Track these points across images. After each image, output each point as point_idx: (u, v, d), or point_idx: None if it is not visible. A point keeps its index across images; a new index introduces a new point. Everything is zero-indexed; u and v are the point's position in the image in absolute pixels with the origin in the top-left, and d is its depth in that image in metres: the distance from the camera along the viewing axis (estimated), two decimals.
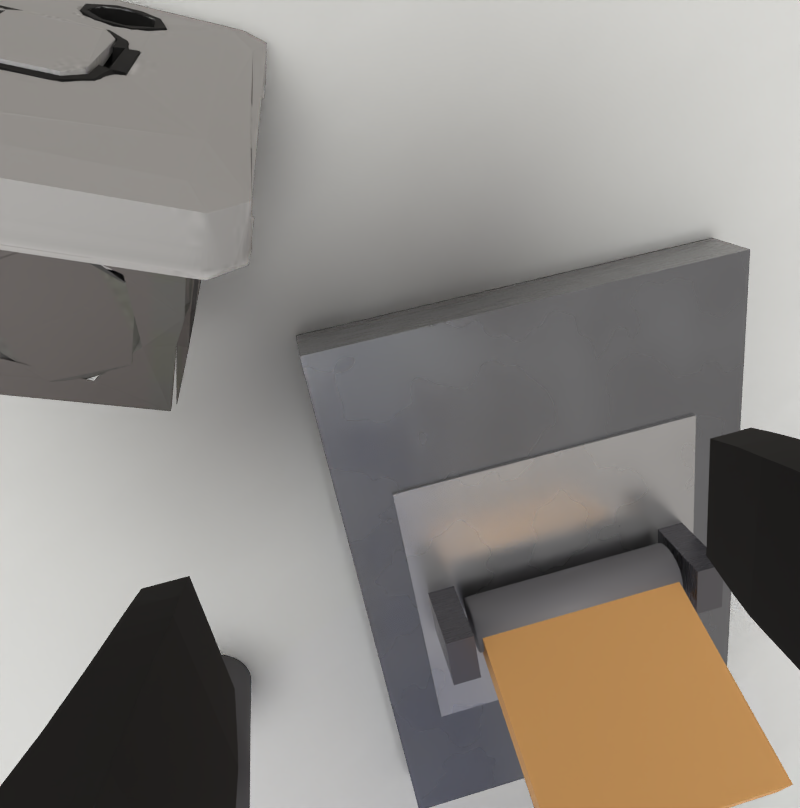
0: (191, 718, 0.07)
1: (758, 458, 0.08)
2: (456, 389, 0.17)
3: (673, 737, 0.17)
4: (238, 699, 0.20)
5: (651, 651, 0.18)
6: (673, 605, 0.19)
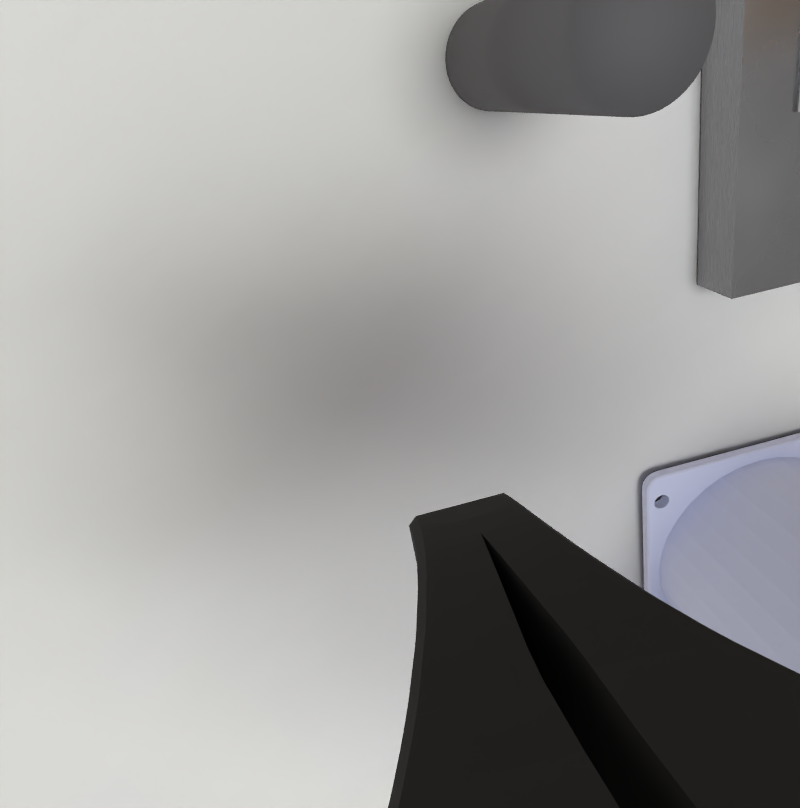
0: None
1: (481, 533, 0.08)
2: None
3: None
4: None
5: None
6: None
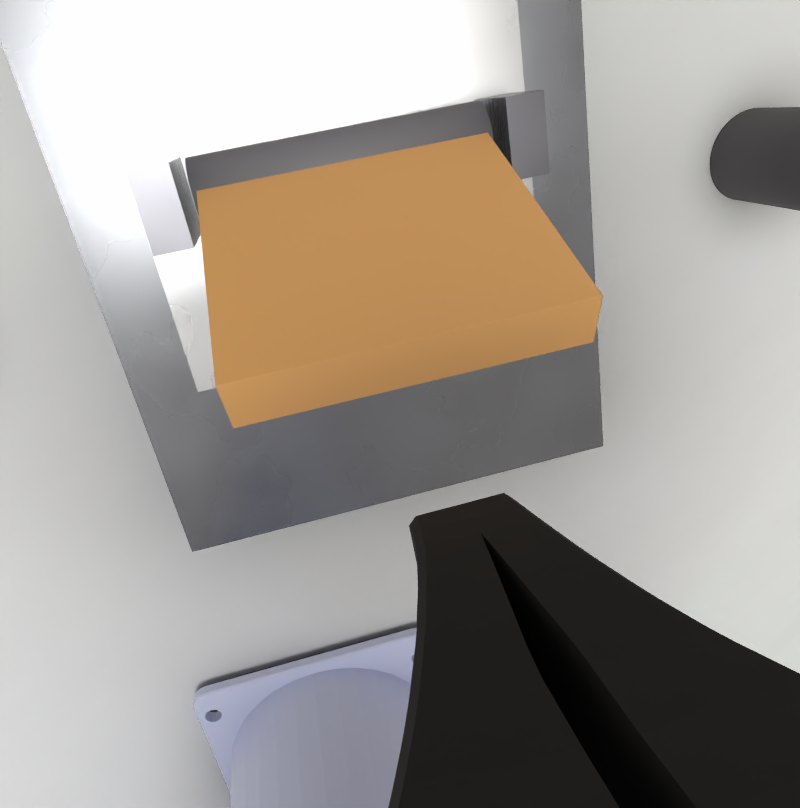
0: None
1: (482, 532, 0.08)
2: None
3: (434, 261, 0.11)
4: None
5: (429, 190, 0.13)
6: (473, 151, 0.13)
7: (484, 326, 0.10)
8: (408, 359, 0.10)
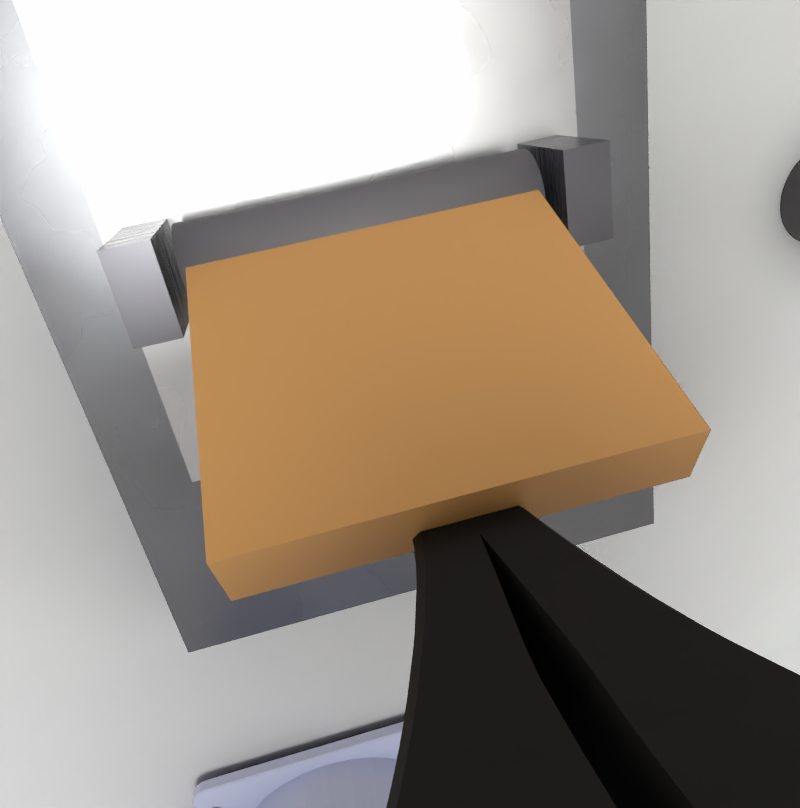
0: None
1: (480, 533, 0.08)
2: None
3: (486, 374, 0.09)
4: None
5: (472, 269, 0.10)
6: (523, 215, 0.11)
7: (556, 472, 0.08)
8: (458, 514, 0.08)
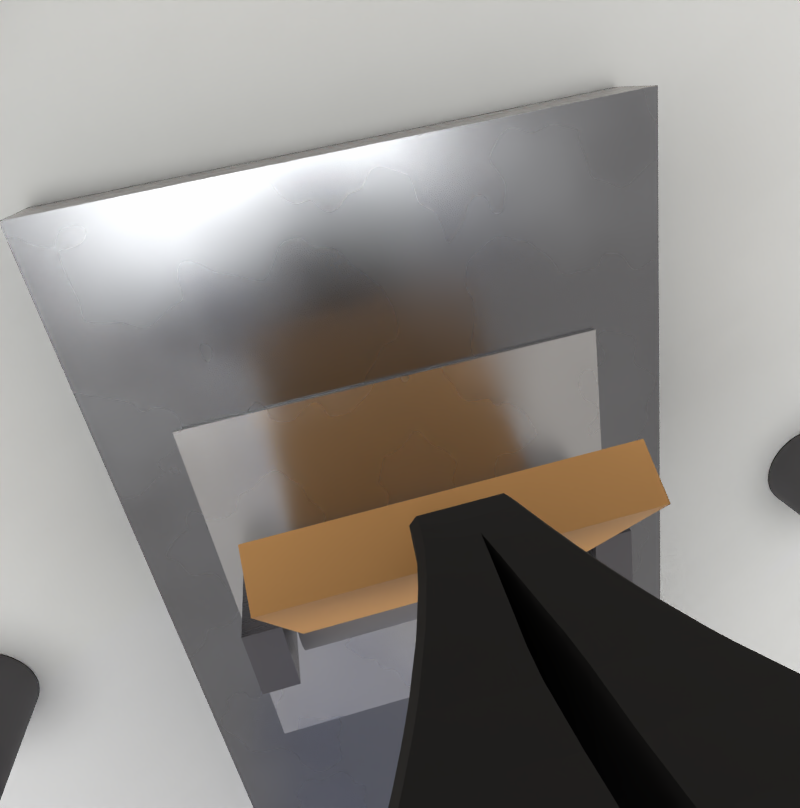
0: None
1: (481, 533, 0.08)
2: (246, 281, 0.12)
3: None
4: None
5: None
6: None
7: (520, 475, 0.10)
8: None
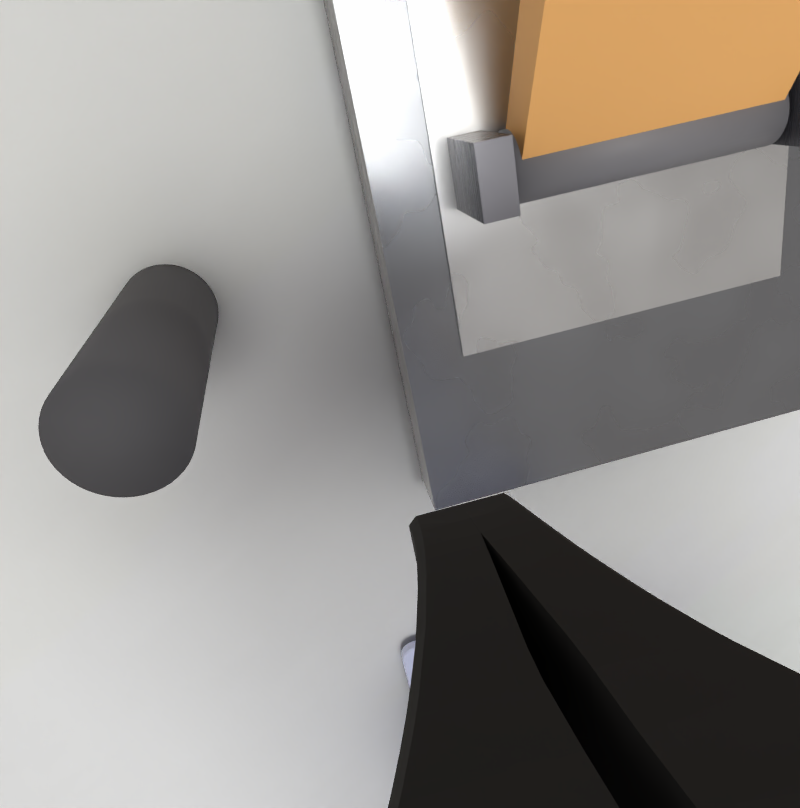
0: None
1: (482, 533, 0.08)
2: None
3: None
4: (197, 295, 0.16)
5: None
6: None
7: None
8: None
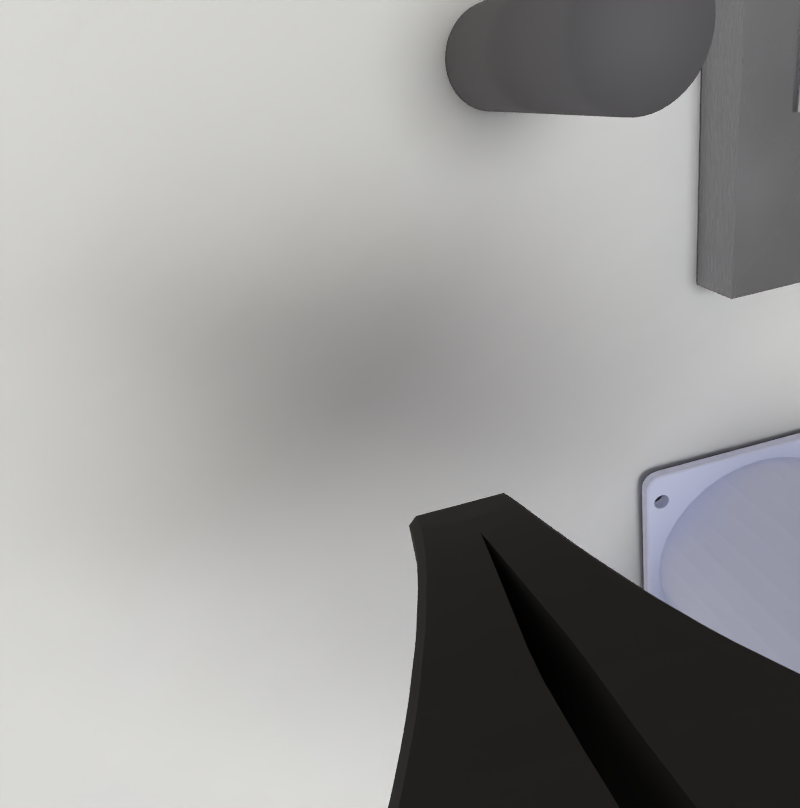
0: None
1: (481, 533, 0.08)
2: None
3: None
4: None
5: None
6: None
7: None
8: None
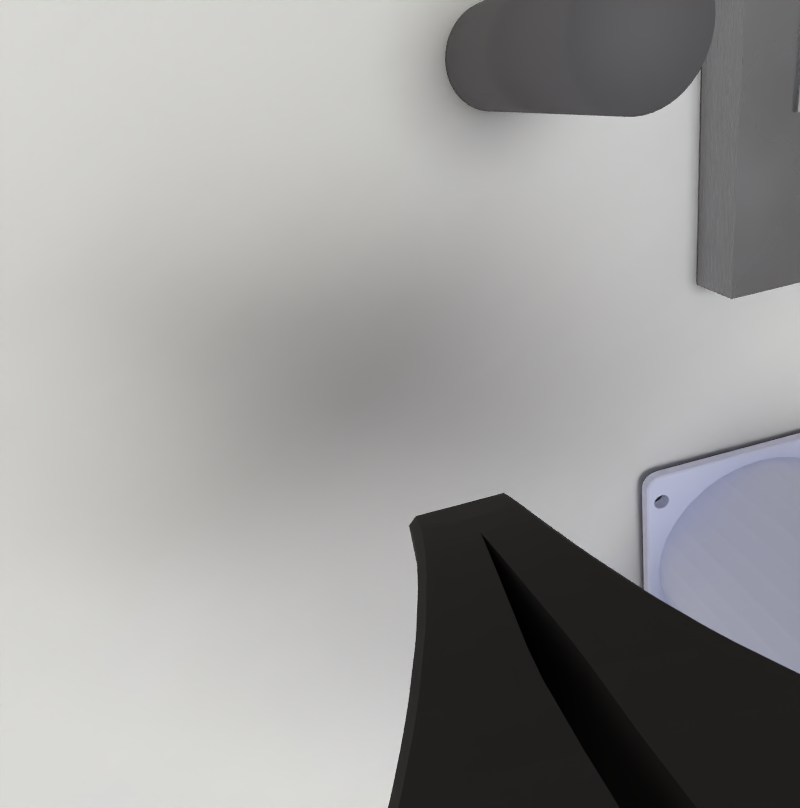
0: None
1: (481, 533, 0.08)
2: None
3: None
4: None
5: None
6: None
7: None
8: None
